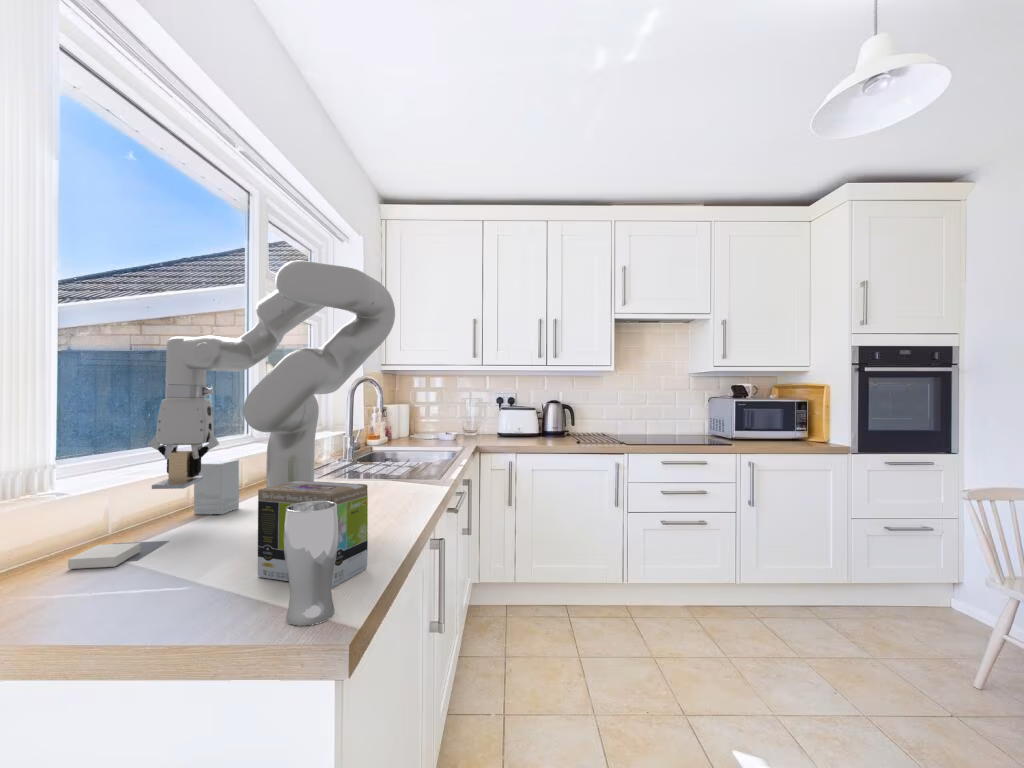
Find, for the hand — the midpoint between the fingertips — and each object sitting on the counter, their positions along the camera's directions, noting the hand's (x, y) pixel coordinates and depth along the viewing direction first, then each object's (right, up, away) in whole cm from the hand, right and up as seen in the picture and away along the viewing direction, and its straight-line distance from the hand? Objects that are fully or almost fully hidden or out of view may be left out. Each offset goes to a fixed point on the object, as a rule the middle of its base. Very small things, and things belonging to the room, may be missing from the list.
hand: (183, 475), depth 112 cm
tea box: (+39, -12, -27) cm, 49 cm away
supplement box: (-2, -12, +16) cm, 20 cm away
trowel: (0, -1, -2) cm, 3 cm away
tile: (0, -10, -18) cm, 21 cm away
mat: (0, -12, -17) cm, 20 cm away
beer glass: (+45, -12, -43) cm, 63 cm away
